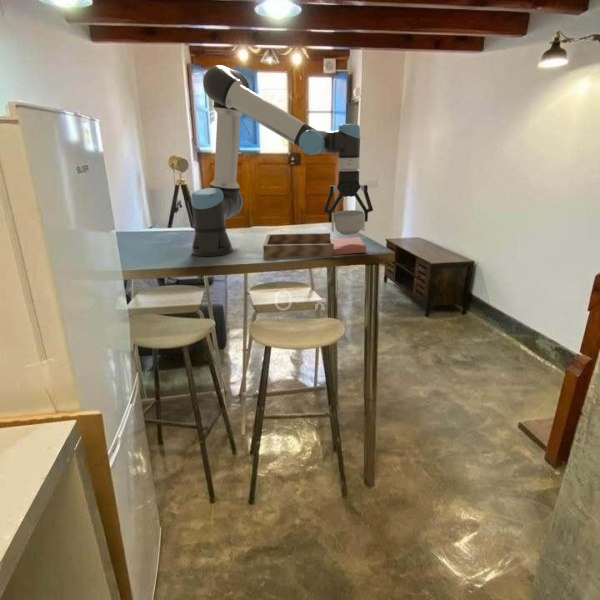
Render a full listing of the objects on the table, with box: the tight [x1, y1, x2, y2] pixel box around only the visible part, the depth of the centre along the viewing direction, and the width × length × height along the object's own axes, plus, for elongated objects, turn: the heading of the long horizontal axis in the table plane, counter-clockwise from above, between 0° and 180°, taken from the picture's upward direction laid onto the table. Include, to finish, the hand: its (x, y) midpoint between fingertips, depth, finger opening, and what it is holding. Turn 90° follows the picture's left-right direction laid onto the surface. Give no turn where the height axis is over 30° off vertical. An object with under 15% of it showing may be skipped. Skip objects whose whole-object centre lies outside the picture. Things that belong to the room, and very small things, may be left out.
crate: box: [262, 232, 334, 259], centre depth 161 cm, size 25×20×4 cm
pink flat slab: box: [330, 236, 367, 255], centre depth 161 cm, size 2×17×12 cm
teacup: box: [333, 209, 364, 236], centre depth 158 cm, size 14×11×8 cm
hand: (347, 230), depth 159 cm, fingers closed on teacup, 11 cm apart
